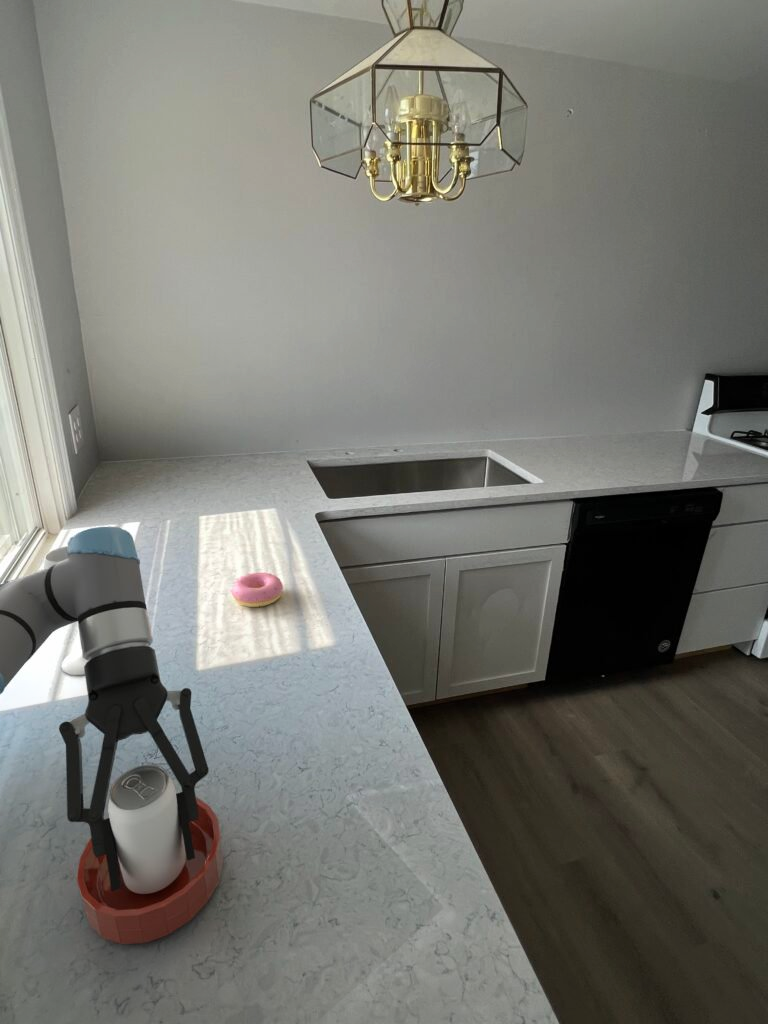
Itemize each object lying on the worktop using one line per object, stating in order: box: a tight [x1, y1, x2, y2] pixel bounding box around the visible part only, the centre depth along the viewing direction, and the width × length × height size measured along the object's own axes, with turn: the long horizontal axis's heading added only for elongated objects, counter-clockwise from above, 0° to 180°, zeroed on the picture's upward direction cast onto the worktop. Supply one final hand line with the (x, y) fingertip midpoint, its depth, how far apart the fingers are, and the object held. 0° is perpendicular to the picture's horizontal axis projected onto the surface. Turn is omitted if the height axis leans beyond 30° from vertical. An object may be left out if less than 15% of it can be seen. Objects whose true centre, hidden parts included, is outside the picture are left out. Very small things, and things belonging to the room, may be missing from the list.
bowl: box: [76, 792, 224, 945], centre depth 61 cm, size 14×14×5 cm
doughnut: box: [230, 572, 284, 608], centre depth 120 cm, size 11×11×4 cm
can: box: [107, 763, 186, 894], centre depth 59 cm, size 6×6×12 cm
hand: (154, 872), depth 57 cm, fingers closed on can, 6 cm apart
